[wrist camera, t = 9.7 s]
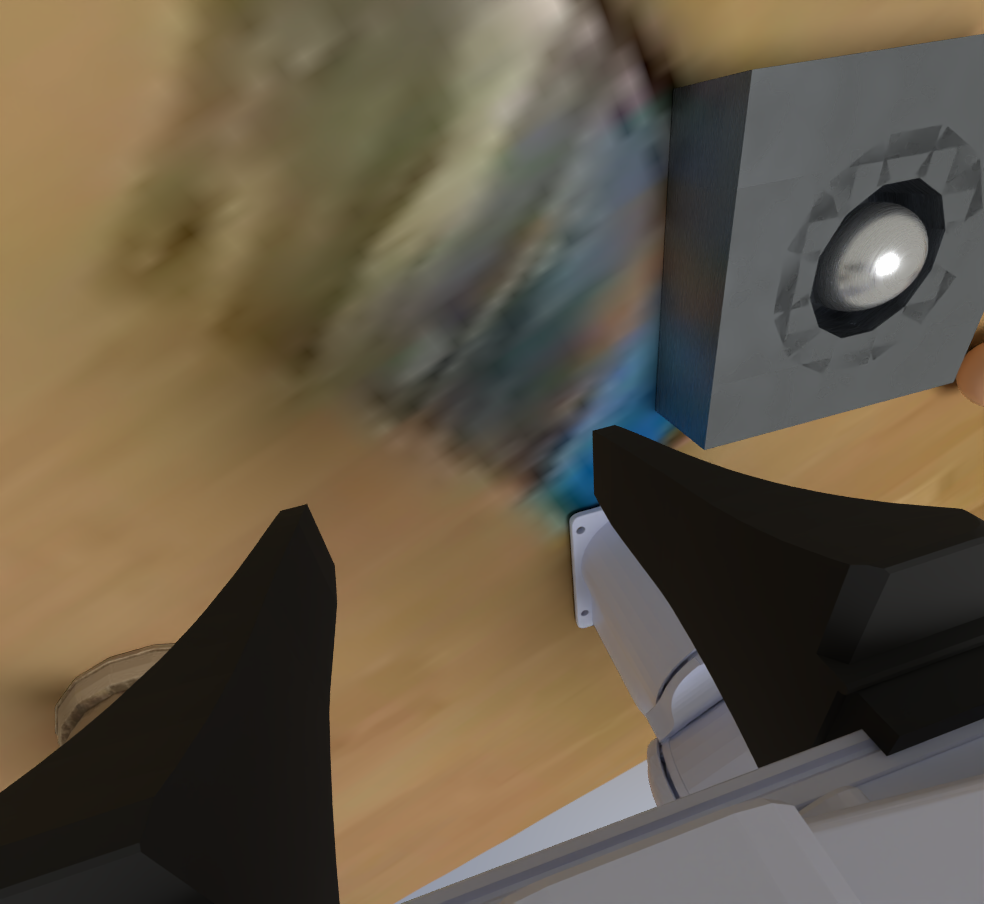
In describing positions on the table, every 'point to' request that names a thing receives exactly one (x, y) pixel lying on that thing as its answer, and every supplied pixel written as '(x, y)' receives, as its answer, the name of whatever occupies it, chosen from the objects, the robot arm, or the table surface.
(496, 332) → the table surface
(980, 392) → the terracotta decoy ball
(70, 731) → the lantern
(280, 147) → the table surface
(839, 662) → the robot arm
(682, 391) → the bearing housing
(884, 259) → the steel ball
